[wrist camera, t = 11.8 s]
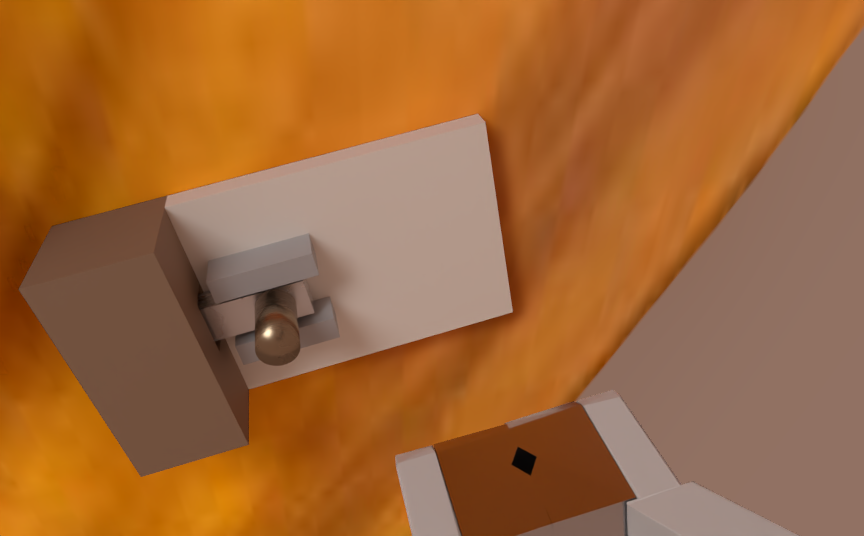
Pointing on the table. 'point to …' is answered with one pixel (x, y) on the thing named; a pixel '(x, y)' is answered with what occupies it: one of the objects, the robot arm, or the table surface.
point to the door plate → (269, 280)
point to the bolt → (262, 319)
